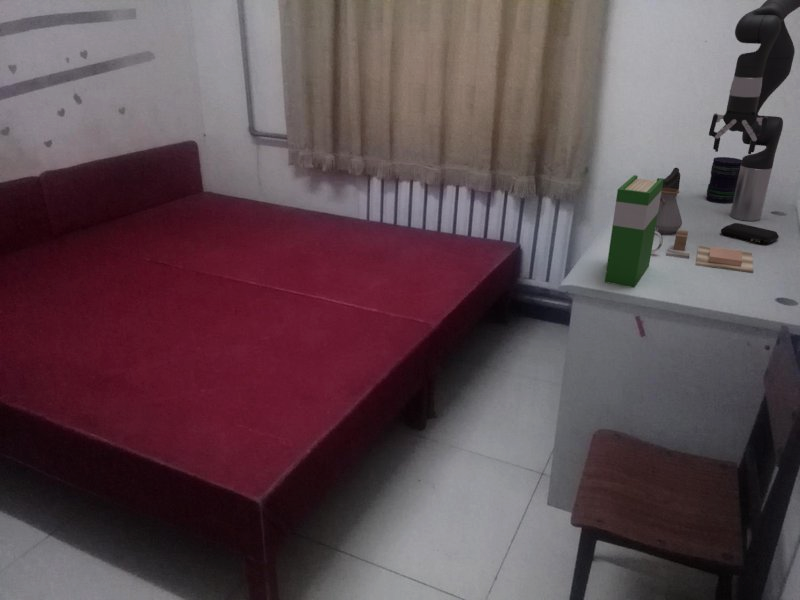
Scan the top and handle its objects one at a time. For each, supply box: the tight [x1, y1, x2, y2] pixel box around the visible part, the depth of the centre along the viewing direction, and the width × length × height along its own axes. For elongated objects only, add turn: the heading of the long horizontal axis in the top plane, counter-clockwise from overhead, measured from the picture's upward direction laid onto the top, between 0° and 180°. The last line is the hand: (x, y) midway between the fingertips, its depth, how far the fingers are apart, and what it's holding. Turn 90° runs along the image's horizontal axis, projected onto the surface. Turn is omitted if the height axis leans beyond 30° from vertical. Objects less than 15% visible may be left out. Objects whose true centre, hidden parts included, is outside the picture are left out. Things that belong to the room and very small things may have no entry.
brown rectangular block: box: [665, 229, 691, 260], centre depth 187 cm, size 10×6×5 cm, turn 155°
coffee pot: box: [656, 188, 683, 235], centre depth 200 cm, size 21×12×15 cm, turn 144°
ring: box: [651, 227, 664, 254], centre depth 185 cm, size 7×3×8 cm, turn 61°
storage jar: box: [705, 156, 742, 205], centre depth 238 cm, size 10×10×15 cm
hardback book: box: [604, 174, 665, 289], centre depth 167 cm, size 18×7×24 cm, turn 150°
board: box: [695, 245, 755, 274], centre depth 182 cm, size 16×14×1 cm
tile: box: [709, 246, 743, 266], centre depth 180 cm, size 2×8×9 cm
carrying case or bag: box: [720, 222, 780, 246], centre depth 200 cm, size 11×3×15 cm
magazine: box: [656, 167, 681, 192], centre depth 235 cm, size 18×3×31 cm
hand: (732, 152), depth 187 cm, fingers open, 8 cm apart
